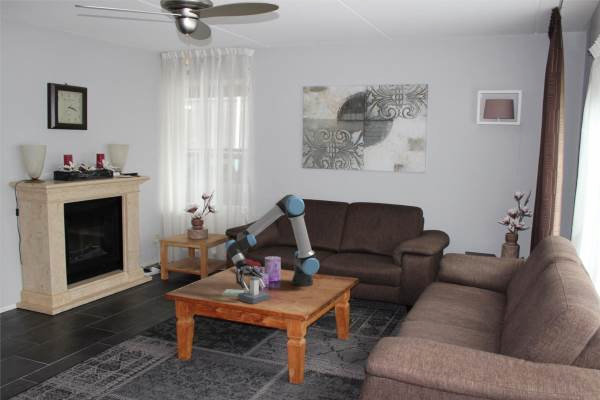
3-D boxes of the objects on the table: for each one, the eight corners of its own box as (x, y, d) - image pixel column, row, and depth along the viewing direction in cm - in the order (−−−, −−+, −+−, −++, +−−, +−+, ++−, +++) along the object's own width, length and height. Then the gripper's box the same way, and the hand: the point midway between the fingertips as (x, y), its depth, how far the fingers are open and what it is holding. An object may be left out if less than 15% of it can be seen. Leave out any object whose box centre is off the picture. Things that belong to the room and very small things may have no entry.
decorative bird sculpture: (255, 283, 384) (266, 266, 389) (247, 276, 379) (259, 259, 384) (234, 275, 405) (245, 259, 411) (226, 268, 400) (238, 253, 406)
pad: (244, 291, 346) (244, 290, 346) (239, 296, 334) (239, 295, 334) (226, 290, 348) (226, 289, 348) (221, 295, 336) (221, 294, 336)
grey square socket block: (254, 295, 339) (254, 289, 339) (269, 299, 330) (270, 294, 329) (238, 299, 329) (238, 293, 328) (253, 304, 319) (253, 298, 319)
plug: (254, 297, 332) (254, 276, 331) (259, 299, 329) (259, 277, 328) (248, 299, 329) (249, 277, 328) (253, 301, 326) (254, 278, 325)
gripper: (251, 262, 347) (267, 289, 339) (222, 268, 329) (237, 296, 320) (257, 255, 343) (273, 282, 334) (227, 261, 325) (243, 290, 316)
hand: (255, 289), depth 327 cm, fingers open, 13 cm apart
